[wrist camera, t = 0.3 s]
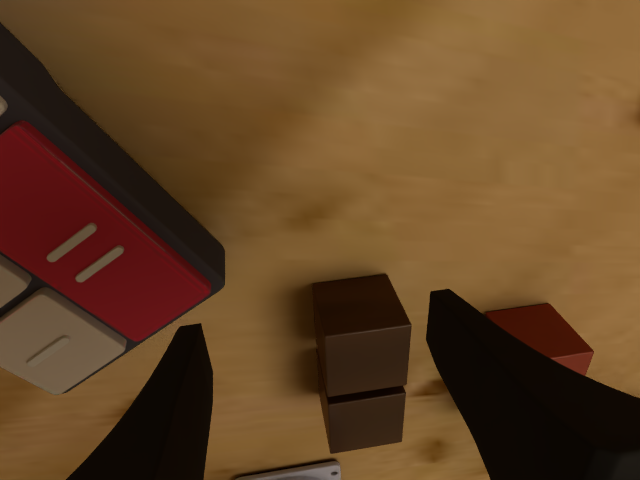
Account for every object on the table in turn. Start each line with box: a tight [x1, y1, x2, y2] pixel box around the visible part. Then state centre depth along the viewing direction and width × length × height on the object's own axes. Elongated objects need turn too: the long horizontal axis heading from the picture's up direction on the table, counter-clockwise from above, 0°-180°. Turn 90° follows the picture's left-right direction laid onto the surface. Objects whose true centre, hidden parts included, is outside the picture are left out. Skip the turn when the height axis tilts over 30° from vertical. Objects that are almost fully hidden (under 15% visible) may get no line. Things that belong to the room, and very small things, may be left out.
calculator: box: [0, 23, 225, 395], centre depth 19 cm, size 11×4×15 cm
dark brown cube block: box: [316, 349, 406, 454], centre depth 27 cm, size 4×4×4 cm
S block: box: [485, 304, 594, 376], centre depth 28 cm, size 4×4×4 cm
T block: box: [312, 275, 411, 397], centre depth 25 cm, size 4×4×4 cm
